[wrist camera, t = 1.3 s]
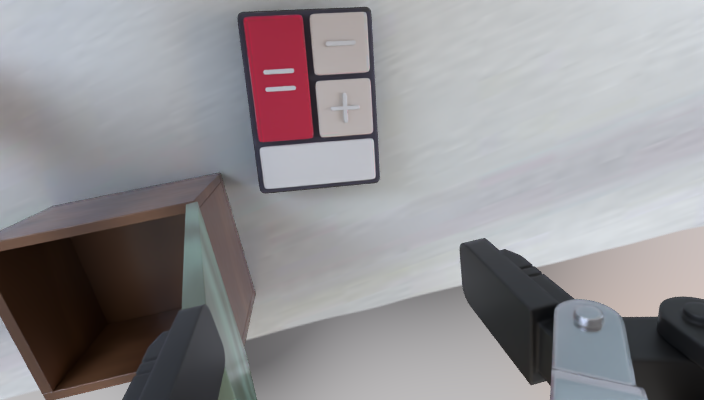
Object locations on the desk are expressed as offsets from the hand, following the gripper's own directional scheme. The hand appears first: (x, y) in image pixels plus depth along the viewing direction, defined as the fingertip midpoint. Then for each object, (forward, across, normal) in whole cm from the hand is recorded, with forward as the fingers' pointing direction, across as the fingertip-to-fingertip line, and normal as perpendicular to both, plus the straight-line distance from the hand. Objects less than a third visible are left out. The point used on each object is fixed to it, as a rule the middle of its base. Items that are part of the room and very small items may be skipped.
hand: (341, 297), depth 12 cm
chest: (+26, +16, +8) cm, 32 cm away
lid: (+8, +7, +7) cm, 13 cm away
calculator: (+27, -1, -3) cm, 27 cm away
